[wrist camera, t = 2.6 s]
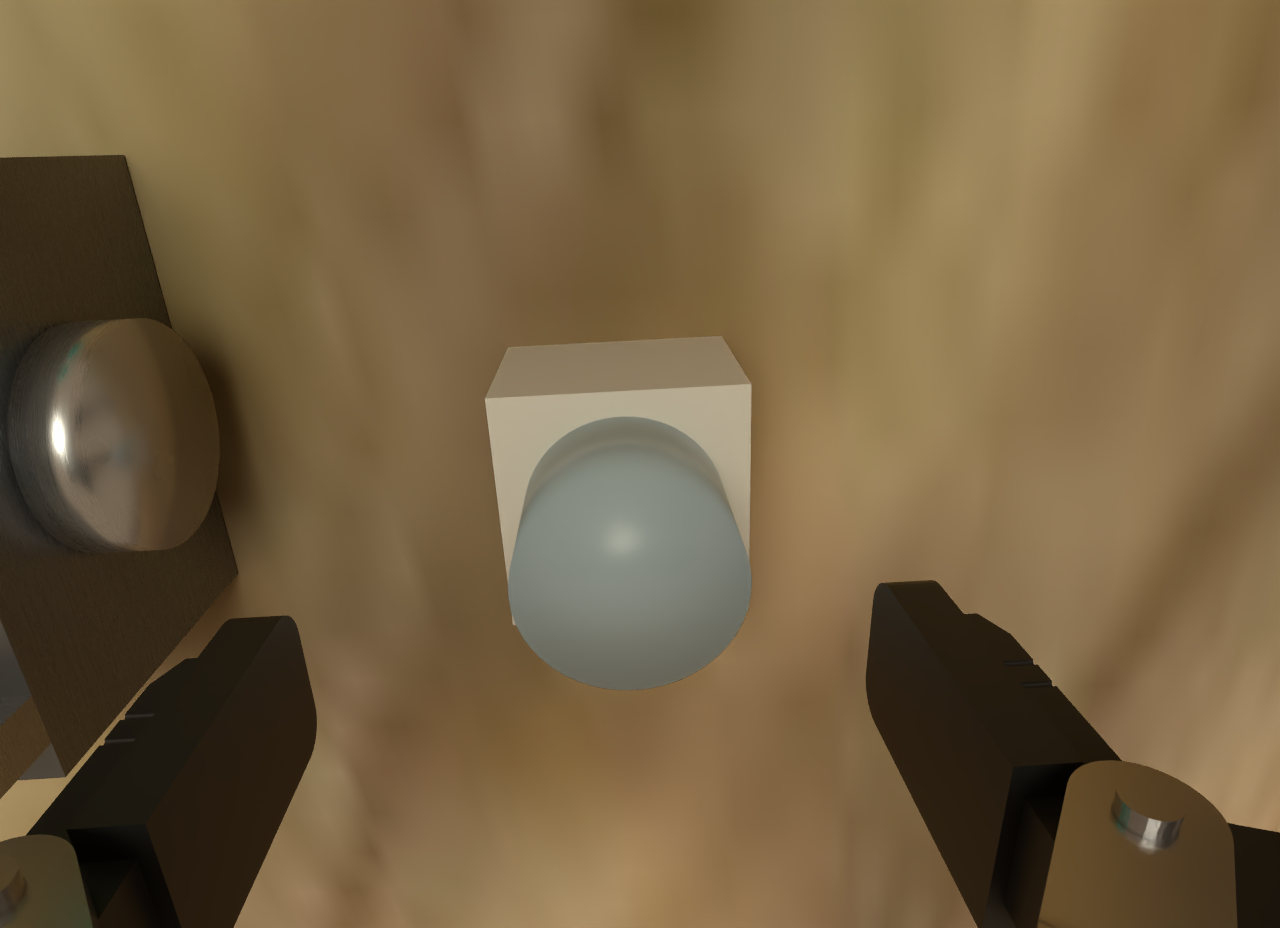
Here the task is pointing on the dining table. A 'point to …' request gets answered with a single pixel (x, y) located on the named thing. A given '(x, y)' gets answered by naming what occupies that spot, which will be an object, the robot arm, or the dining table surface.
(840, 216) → the dining table surface
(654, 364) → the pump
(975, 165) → the dining table surface
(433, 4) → the dining table surface
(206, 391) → the motor housing
